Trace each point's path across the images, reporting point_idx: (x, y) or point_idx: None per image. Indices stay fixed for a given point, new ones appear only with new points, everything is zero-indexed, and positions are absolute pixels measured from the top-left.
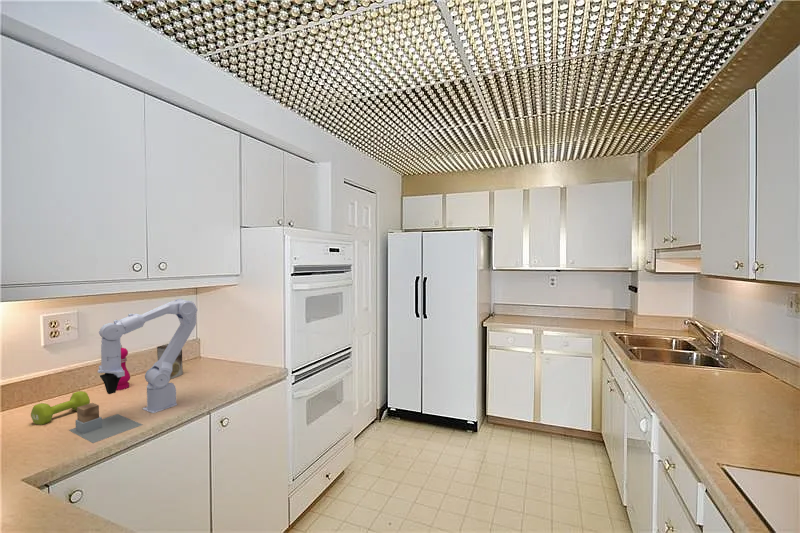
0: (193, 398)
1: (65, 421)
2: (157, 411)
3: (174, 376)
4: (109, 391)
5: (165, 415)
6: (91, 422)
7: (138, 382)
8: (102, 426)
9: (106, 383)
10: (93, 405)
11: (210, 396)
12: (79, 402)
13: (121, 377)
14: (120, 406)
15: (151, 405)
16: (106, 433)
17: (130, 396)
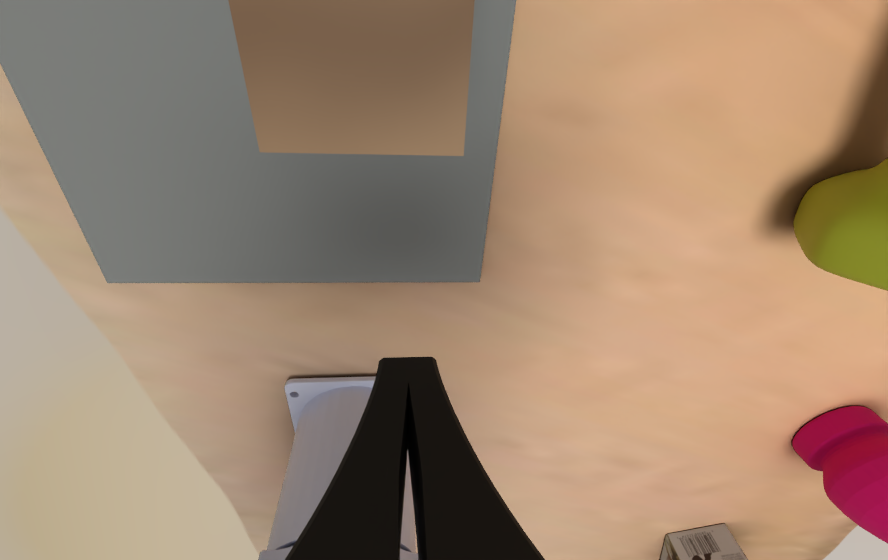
0: None
1: (770, 17)
2: (287, 400)
3: (664, 556)
4: (375, 392)
5: (204, 398)
6: None
7: (790, 482)
8: None
9: (377, 523)
10: (320, 105)
11: None
12: (876, 204)
13: (871, 494)
14: (599, 339)
15: (322, 419)
16: (112, 55)
17: (676, 412)
